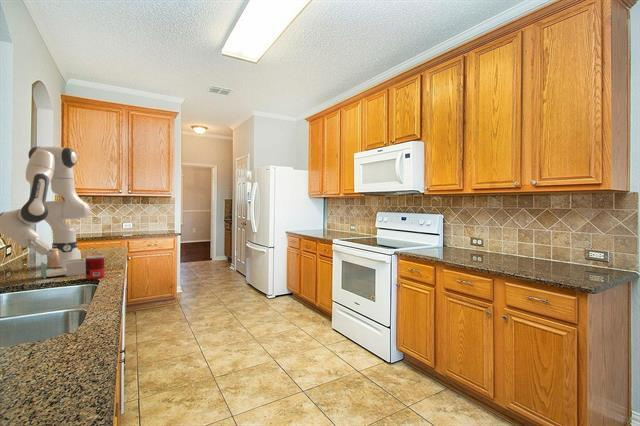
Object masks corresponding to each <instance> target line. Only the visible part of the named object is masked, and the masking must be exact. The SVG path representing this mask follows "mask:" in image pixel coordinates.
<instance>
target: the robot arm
mask: <svg viewBox="0 0 640 426" xmlns="http://www.w3.org/2000/svg"><path fill="white" fill-rule="evenodd" d="M28 159H29V160H28V163H27V165H26V169H25V180H26V181H27V182H28V183H29V184H30V185H31V188H30V193H29V199H27V202H26V203H25V204H23V206H22V207H21V208H18V209H16V210H12V211H3V212H1V213H0V233H1V234H2V235H4V237H7V238H9V239H11V240H12V241H13V242H14V243H16V244H17V245H19V246H20V247H22V248H23V249H25V248H28V249H32V250H33V251H34V252H36V253H37V254H39V255H41V256H45V255H46V257H47V256H49V257H51V258H52V259H54V258H55V257H56V256H55V255H54V254H53V253H51V252H50V251H49V249H50V246H49V245H48V244H47V243H46V242H45V241H43V240H42V238H40V236H41V234H40V233H38V232H37V231H35V230H34V229H33V228H31V227H32V226H35V225H36V224H38V223H40V222H41V221H45V223H47V224H48V225H49V227H50V229H51V232H52V240H53V242H52V243H51V244H52V245H51V247H52V248H51V249H58V250H59V266H58V267H57V268H62V261H63V260H72V259H82V256H81V250H80V249H78V241H77V229H76V228H75V227H74V226H72V225H70V224H66V223H65V221H64V220H80V219H85V218H87V217H88V216H89V215H90V212H91V207H90V205H89V204H88V203H87V202H86V201H84V200H83V199H81V197H80V196H79V195H78V194H77V191H76V185H75V175H74V174H75V173H74V168H73V166H75V165H76V164H77V162H78V155H77V152H76V151H75V150H74V148H70V147H62V146H34V147H32V148H31V149H29V151H28ZM49 185H50V189H51V192H52V193H53V194H54V195H57V196H60V197H62V198H63V200H61V201H60V200H58V201H57V200H50V201H47V197H48V190H49ZM45 264H46V269H47V268H49V267H47V263H45Z"/></svg>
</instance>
